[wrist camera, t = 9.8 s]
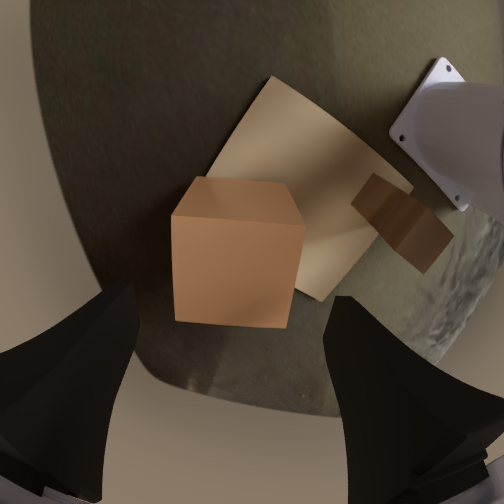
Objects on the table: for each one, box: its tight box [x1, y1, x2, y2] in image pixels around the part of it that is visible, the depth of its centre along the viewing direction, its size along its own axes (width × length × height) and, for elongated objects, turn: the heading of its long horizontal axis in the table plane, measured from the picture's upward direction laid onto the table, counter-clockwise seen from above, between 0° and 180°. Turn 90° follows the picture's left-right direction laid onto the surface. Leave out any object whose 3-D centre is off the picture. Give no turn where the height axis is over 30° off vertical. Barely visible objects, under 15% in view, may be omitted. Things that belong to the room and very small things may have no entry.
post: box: [350, 173, 454, 274], centre depth 15 cm, size 3×3×7 cm
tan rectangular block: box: [171, 176, 306, 328], centre depth 15 cm, size 5×5×7 cm
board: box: [206, 76, 414, 302], centre depth 19 cm, size 12×11×1 cm
